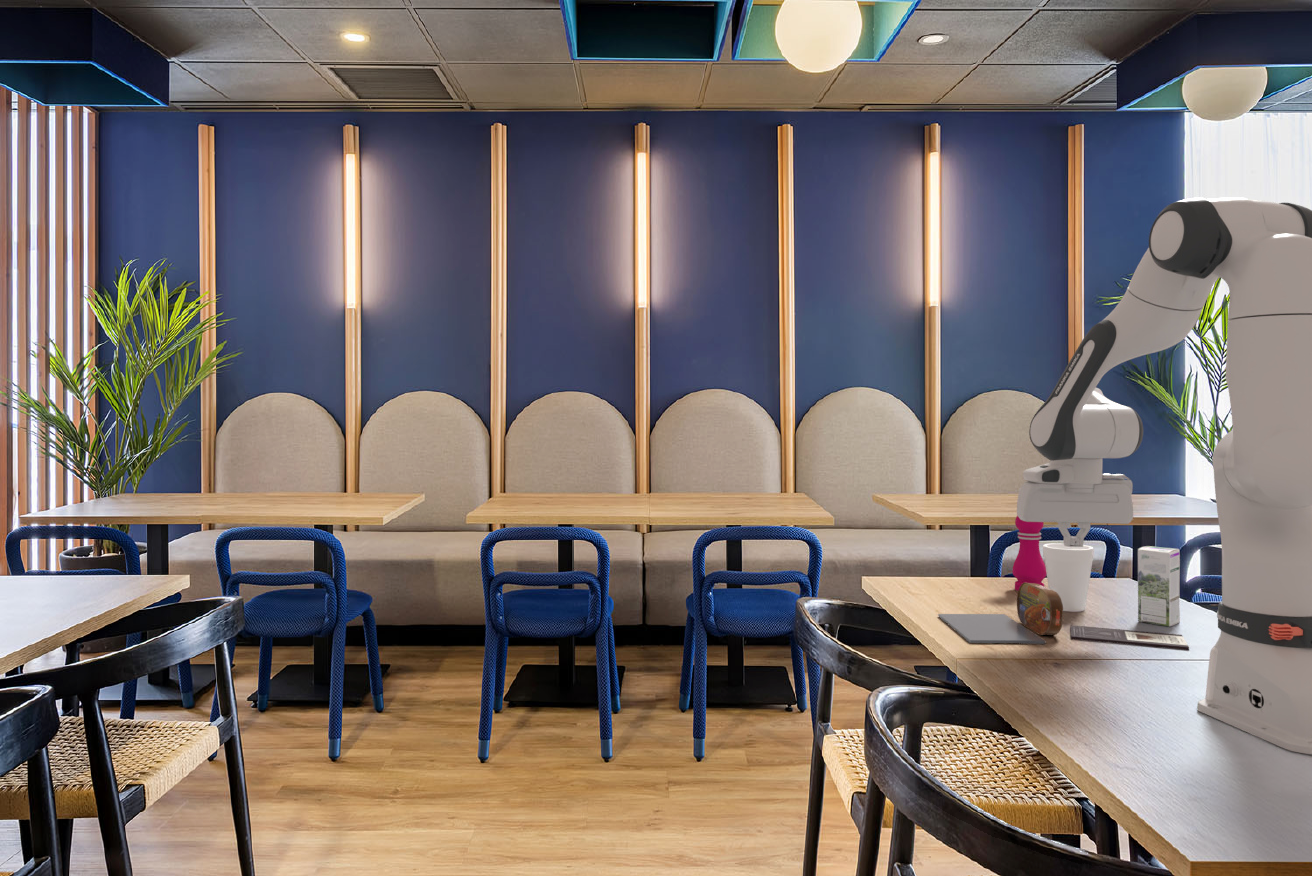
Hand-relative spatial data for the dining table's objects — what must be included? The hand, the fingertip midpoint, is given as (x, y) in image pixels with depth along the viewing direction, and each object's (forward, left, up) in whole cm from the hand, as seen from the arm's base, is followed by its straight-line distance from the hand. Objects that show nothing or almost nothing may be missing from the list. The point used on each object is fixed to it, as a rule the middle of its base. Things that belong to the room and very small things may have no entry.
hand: (1073, 546), depth 155 cm
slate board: (0, +16, -16) cm, 22 cm away
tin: (0, +6, -16) cm, 17 cm away
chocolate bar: (-6, -7, -16) cm, 19 cm away
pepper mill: (+36, -6, -16) cm, 40 cm away
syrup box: (+6, -19, -16) cm, 25 cm away
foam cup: (+18, -7, -16) cm, 25 cm away
